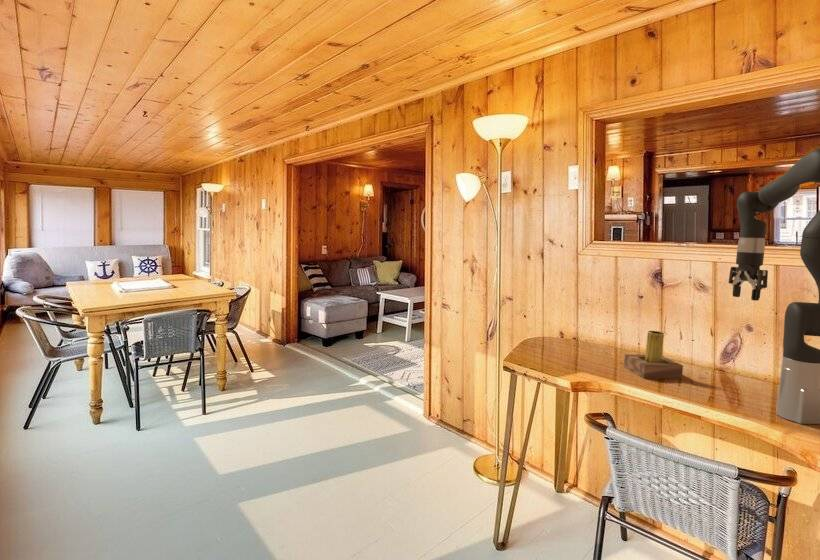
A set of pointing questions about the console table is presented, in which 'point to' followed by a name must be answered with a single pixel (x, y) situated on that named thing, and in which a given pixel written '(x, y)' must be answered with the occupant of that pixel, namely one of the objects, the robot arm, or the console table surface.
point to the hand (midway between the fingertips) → (745, 298)
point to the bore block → (653, 367)
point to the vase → (654, 347)
